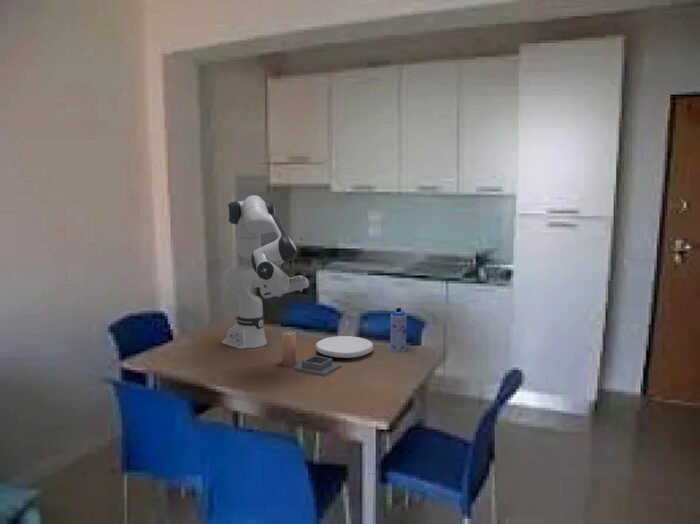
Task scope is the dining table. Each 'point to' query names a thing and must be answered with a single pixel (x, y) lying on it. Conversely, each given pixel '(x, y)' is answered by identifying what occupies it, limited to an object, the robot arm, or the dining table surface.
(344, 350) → the plate
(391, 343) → the aerosol can
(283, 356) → the salmon pink cylinder
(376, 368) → the dining table surface
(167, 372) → the dining table surface
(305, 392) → the dining table surface
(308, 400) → the dining table surface
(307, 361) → the grey square tray
